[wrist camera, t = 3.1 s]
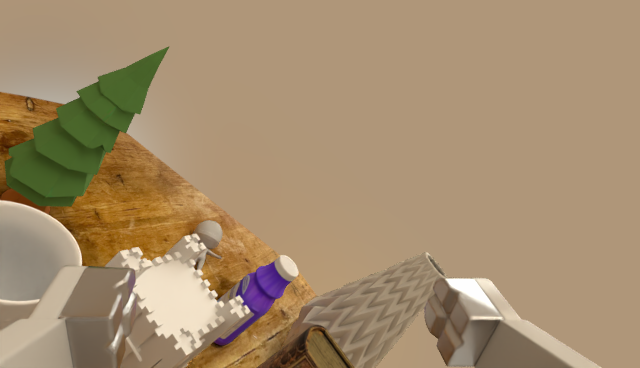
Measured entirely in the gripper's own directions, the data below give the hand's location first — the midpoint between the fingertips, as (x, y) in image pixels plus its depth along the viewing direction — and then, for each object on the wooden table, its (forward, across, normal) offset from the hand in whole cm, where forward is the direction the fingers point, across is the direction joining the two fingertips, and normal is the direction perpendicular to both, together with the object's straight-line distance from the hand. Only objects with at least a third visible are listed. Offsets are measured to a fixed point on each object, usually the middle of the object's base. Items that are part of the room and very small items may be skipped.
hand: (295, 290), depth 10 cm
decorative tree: (+41, -29, -26) cm, 57 cm away
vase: (+38, +12, -56) cm, 69 cm away
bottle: (+38, -3, -45) cm, 59 cm away
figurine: (+46, -8, -41) cm, 62 cm away
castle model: (+27, -13, -38) cm, 48 cm away
